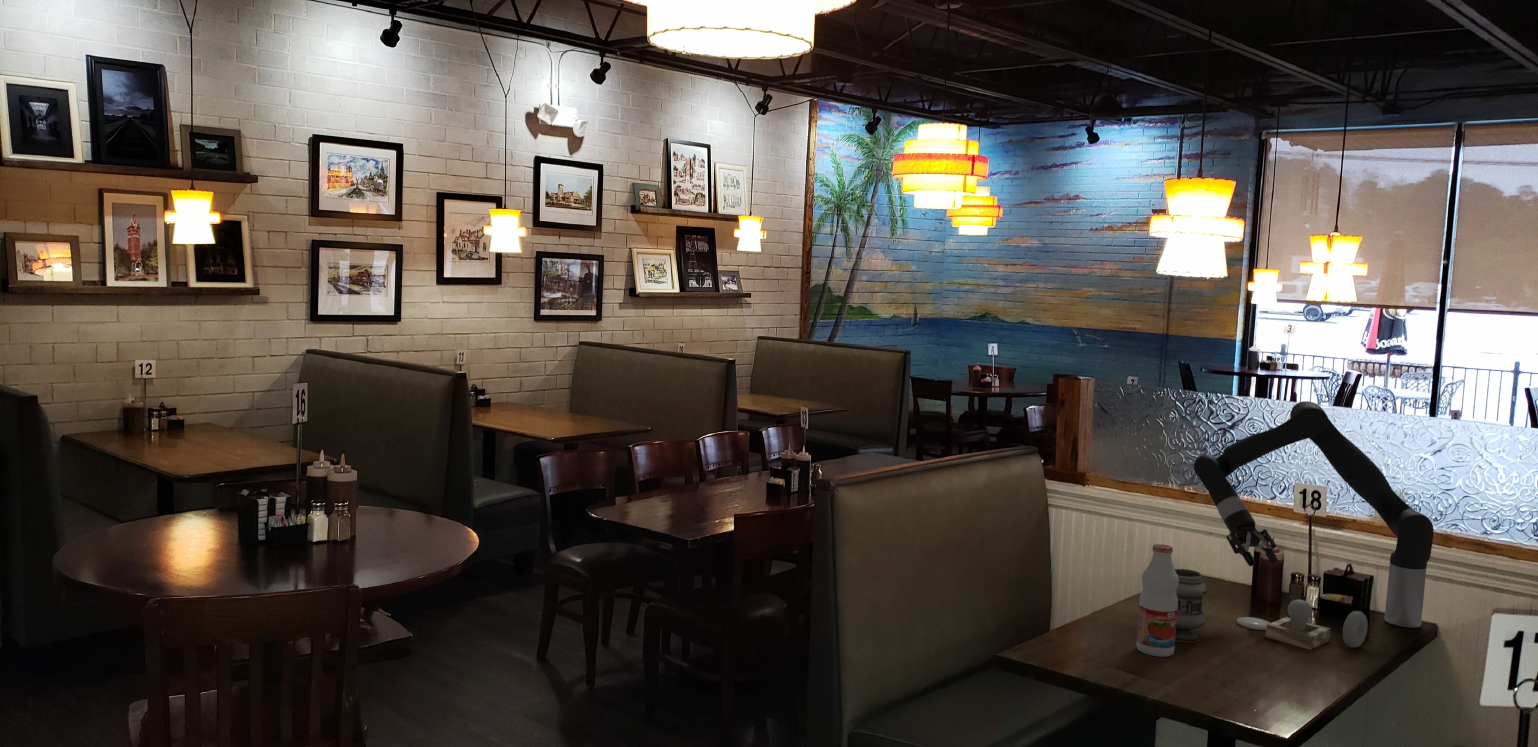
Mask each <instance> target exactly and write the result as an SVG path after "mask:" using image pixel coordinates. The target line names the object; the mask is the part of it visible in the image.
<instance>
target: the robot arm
mask: <svg viewBox="0 0 1538 747" xmlns="http://www.w3.org/2000/svg"><path fill="white" fill-rule="evenodd" d="M1289 415H1290V417H1289V419H1288V420H1286V421H1284V422H1283V423H1281V424H1280V425H1278V426H1275V427H1273V428H1270V429H1268V430H1265V431H1261V432H1258V433H1255V434H1252V435H1249V436H1247V437H1244V438H1242V439H1240V440H1237V441H1235V442H1234V443H1232V444H1230V445H1228V446H1226V447H1225V448H1224V449H1223V451H1222V454H1220V455H1218V456H1217V457H1216V458H1215V457H1213V456H1211V455H1208V454H1203V455H1200V456H1198V457H1197V458H1196V459H1195V461H1194V463H1193V470H1194V473H1195V474H1196V476H1197V477H1198V479H1199V480H1200V483H1202V485H1203V486H1204V488H1205V489H1206V490H1207V492H1208V494H1209V497H1210V498H1211V500H1212V503H1213V504H1214V505H1215V507H1216V509H1217V511H1218V514H1219V516H1220V517H1221V519H1222V520H1223V523H1224V524H1225V526H1226V528H1227V530H1228V531H1229V534H1227V535H1226V537H1225V538H1226V539H1227V540H1226V541H1227V542H1228V543H1229V546H1230V547H1231V550H1232V551H1233V553H1234V554H1235V555H1237V554H1239V555H1241V556H1242V558H1243V559H1244V560H1245V562H1246V564H1247V565H1248V566H1249V567H1254V566H1255V565H1256V563H1257V562H1256V560H1255V558H1254V556H1253V555H1252V552H1251V551H1249V548H1250V547H1252V548H1256V549H1258V550H1261V551H1262V552H1264V553H1265V556H1266V557H1267V559H1268V561H1269V563H1270V564H1271V565H1276V564H1277V563H1278V562H1279V560H1278V556H1277V555H1276V553H1275V552H1274V549H1275V548H1276V547H1277V544H1276V542H1275V540H1273V538H1272V536H1271V535H1270V534H1269V532H1268V530H1267V529H1263V530H1258V529H1257V528H1256V521H1255V519H1254V517H1253V515H1252V514H1251V513H1250V511H1249V510H1248V508H1247V506H1246V504H1245V503H1244V502H1243V500H1242V499H1241V498H1240V496H1239V495H1238V493H1237V491H1236V490H1235V488H1234V487H1233V485H1232V484H1231V483H1230V482H1229V480H1228V479H1227V477H1229V476H1230V475H1231V474H1232V473H1234V472H1235V471H1237V470H1238V469H1239V468H1242V467H1243V466H1245V465H1247V464H1249V463H1251V462H1253V461H1256V460H1257V459H1259V458H1262V457H1263V456H1266V455H1268V454H1269V453H1272V452H1273V451H1277V450H1279V449H1281V448H1284V447H1286V446H1290V445H1292V444H1294V443H1297V442H1300V441H1301V442H1302V441H1304V440H1307V439H1309V440H1310V441H1311V442H1312V443H1313V444H1315V446H1316V447H1318V449H1319V450H1320V451H1321V452H1322V454H1323V455H1324V457H1325V458H1326V459H1327V462H1328V463H1329V464H1330V466H1331V467H1332V468H1333V469H1334V470H1335V472H1336V473H1337V474H1338V476H1340V478H1341V479H1342V480H1344V481H1345V483H1346V484H1347V485H1348V486H1349V487H1350V488H1351V489H1352V490H1353V491H1354V492H1355V493H1356V494H1357V495H1358V496H1359V497H1360V498H1362V499H1363V500H1364V501H1365V502H1366V503H1367V504H1369V505H1370V506H1371V507H1372V508H1373V510H1375V512H1376V513H1377V514H1378V515H1379V516H1380V518H1381V519H1382V520H1383V522H1384V523H1385V524H1386V526H1387V527H1388V529H1390V530H1391V532H1392V533H1393V535H1395V537H1396V545H1395V551H1393V552H1392V553H1390V557H1389V569H1388V579H1387V590H1386V599H1385V610H1384V621H1385V622H1387V623H1388V624H1391V625H1394V626H1398V627H1404V628H1411V629H1412V628H1413V629H1414V628H1421V626H1422V618H1423V610H1424V609H1423V607H1424V600H1425V598H1424V597H1425V588H1426V577H1427V567H1428V563H1429V561H1430V559H1431V554H1432V548H1433V541H1434V530H1435V529H1434V524H1433V522H1432V520H1431V519H1430V518H1429V517H1428V516H1427V515H1424V514H1423V513H1421V512H1419V511H1417V510H1415V509H1414V508H1413V507H1411V506H1410V505H1409V504H1407V503H1406V502H1405V500H1403V498H1401V497H1400V496H1398V494H1397V493H1396V492H1395V491H1394V489H1393V488H1392V486H1391V485H1390V483H1389V481H1388V480H1387V478H1386V477H1385V474H1384V473H1383V472H1382V471H1381V469H1380V468H1379V467H1378V466H1377V465H1376V463H1374V462H1373V460H1372V459H1371V458H1369V456H1368V455H1367V454H1365V453H1364V452H1363V451H1362V450H1361V449H1360V448H1359V447H1358V446H1356V444H1354V443H1353V442H1352V441H1351V440H1350V439H1348V438H1347V437H1346V436H1345V435H1343V433H1342V432H1340V431H1339V430H1338V429H1337V427H1336V426H1335V425H1334V423H1333V422H1332V421H1331V420H1330V418H1329V416H1328V414H1327V413H1326V412H1325V410H1324V408H1323V407H1321V406H1320V405H1319V404H1317V403H1315V402H1312V401H1300V402H1297V403H1296V404H1294V406H1292V408H1291V410H1290V414H1289Z"/></svg>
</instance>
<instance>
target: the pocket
mask: <svg viewBox="0 0 1538 747" xmlns="http://www.w3.org/2000/svg"><path fill="white" fill-rule="evenodd" d="M1330 636H1331V628H1330V627H1326V626H1323V625H1318V624H1314V623H1311V622H1307V624H1306V626H1305V630H1304V632H1300V631H1296V630H1293V629H1292V622H1291V619H1290V617H1288V616H1285V617H1283V618H1280V619H1278V620H1275V621H1273V622H1270V624H1267V627H1266V630H1265V638H1268V639H1271V640H1275V641H1279V642H1282V643H1286V644H1290V645H1292V646H1295V647H1299V648H1304V649H1307V650H1309V651H1310V650H1312V649H1315V648H1317V647H1320V646H1321V645H1324V644H1326V643H1329V642H1330V638H1331V637H1330Z"/></svg>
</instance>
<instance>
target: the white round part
mask: <svg viewBox="0 0 1538 747" xmlns="http://www.w3.org/2000/svg"><path fill="white" fill-rule="evenodd" d="M1236 623H1237V624H1238V625H1239V626H1240V625H1241V626H1240V627H1243V628H1246V629H1250V630H1256V631H1266V627H1267V624H1270V623H1271V622H1269V621H1267V620H1265V619H1262V618H1257V617H1249V616H1243V617H1241V616H1240V617H1238V618H1236Z"/></svg>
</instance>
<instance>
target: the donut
mask: <svg viewBox="0 0 1538 747" xmlns="http://www.w3.org/2000/svg"><path fill="white" fill-rule="evenodd" d="M1368 627H1369V626H1368V619H1367V616H1366V614H1364V613H1363V612H1362V611H1360V610H1353V611H1352V612H1350V613H1349V614H1348V615H1347V617H1346V619H1345V620H1344V623H1343V627H1342V639H1343V642H1344V644H1345V645H1346V646H1347V647H1349V648H1352V649H1354V648H1358V647H1360V646H1361V645H1362V644H1363V642H1364V641H1365V638H1366V636H1367V633H1368Z"/></svg>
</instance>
